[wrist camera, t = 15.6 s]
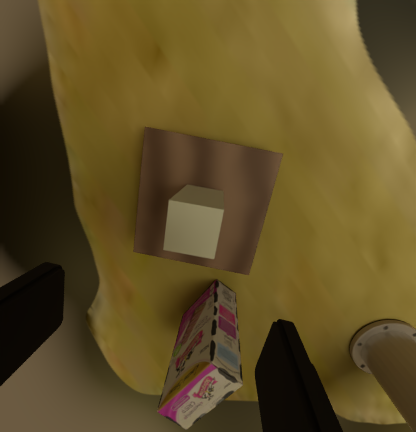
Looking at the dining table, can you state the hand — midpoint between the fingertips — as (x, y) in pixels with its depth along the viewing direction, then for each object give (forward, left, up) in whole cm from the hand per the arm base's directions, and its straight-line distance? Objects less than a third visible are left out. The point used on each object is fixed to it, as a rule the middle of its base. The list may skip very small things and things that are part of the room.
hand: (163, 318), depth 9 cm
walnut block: (0, 0, -27) cm, 27 cm away
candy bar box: (-5, +20, -26) cm, 33 cm away
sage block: (0, 0, -21) cm, 20 cm away
